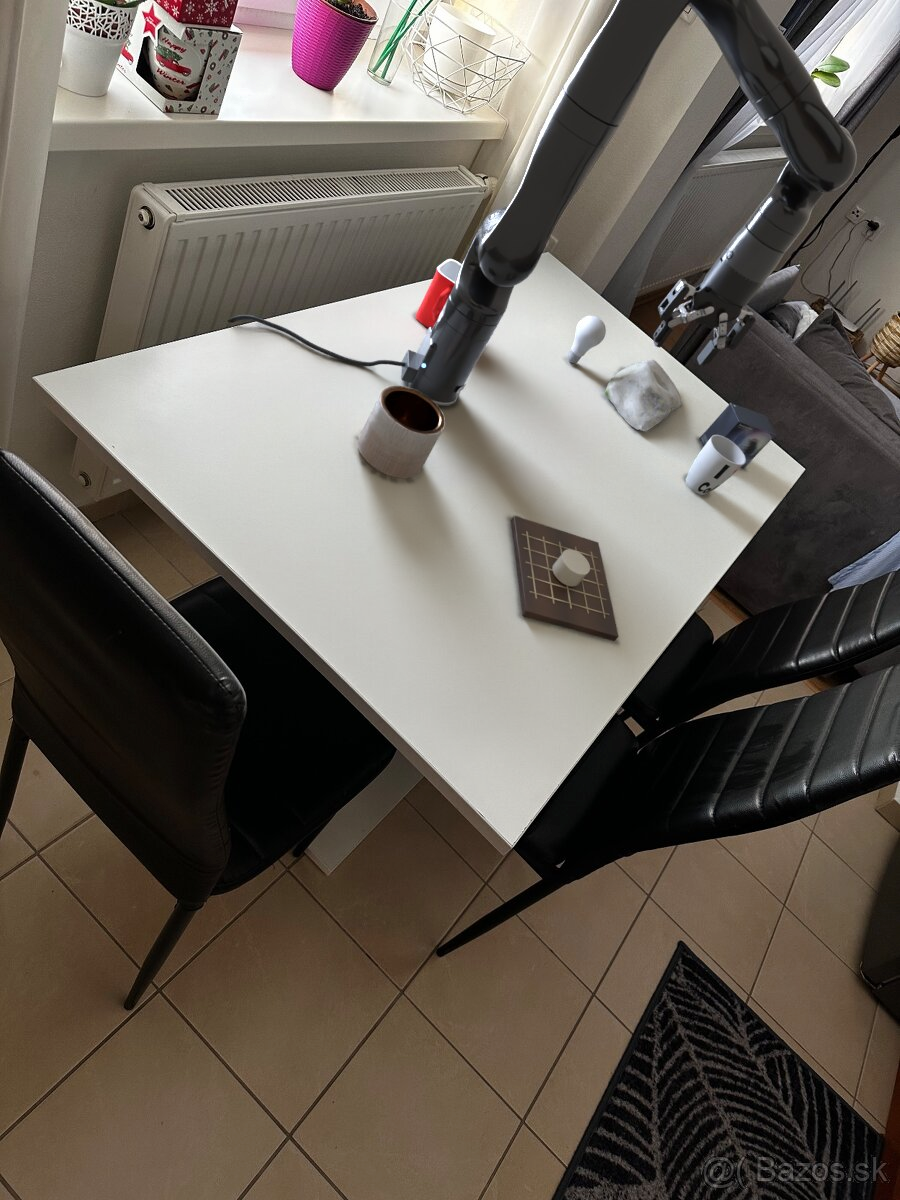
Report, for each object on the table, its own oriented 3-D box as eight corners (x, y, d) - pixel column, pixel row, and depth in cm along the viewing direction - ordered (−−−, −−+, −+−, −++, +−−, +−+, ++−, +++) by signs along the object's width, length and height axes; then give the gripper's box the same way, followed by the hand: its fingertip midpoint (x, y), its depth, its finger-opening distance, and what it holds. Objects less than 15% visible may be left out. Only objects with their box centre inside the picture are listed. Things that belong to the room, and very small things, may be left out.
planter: (380, 422, 138) (403, 376, 132) (432, 463, 138) (458, 419, 131) (343, 446, 130) (365, 398, 124) (397, 490, 130) (423, 444, 123)
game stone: (554, 581, 130) (564, 569, 128) (550, 558, 134) (560, 545, 131) (582, 590, 132) (592, 578, 130) (577, 566, 135) (587, 554, 133)
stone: (647, 346, 193) (697, 388, 192) (626, 371, 198) (676, 413, 196) (610, 362, 171) (667, 411, 169) (588, 391, 175) (643, 439, 174)
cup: (694, 501, 167) (726, 464, 160) (672, 470, 171) (703, 434, 164) (719, 500, 172) (753, 464, 165) (698, 471, 175) (729, 435, 169)
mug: (427, 303, 169) (450, 256, 162) (462, 327, 170) (486, 281, 162) (403, 323, 161) (426, 275, 153) (439, 348, 161) (464, 301, 154)
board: (522, 615, 124) (526, 610, 123) (510, 520, 137) (514, 514, 136) (614, 641, 130) (619, 636, 129) (594, 546, 143) (598, 541, 142)
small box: (706, 458, 181) (739, 421, 174) (697, 437, 185) (729, 401, 178) (744, 470, 185) (778, 434, 178) (735, 450, 189) (767, 414, 182)
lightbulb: (587, 367, 183) (615, 324, 175) (576, 374, 178) (604, 331, 171) (565, 349, 183) (592, 306, 176) (553, 356, 179) (581, 313, 171)
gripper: (775, 270, 130) (708, 355, 141) (699, 233, 125) (636, 324, 136) (790, 296, 125) (719, 382, 136) (712, 258, 120) (645, 351, 131)
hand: (677, 353), depth 136 cm, fingers open, 8 cm apart
